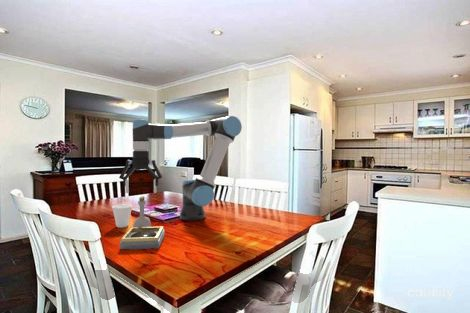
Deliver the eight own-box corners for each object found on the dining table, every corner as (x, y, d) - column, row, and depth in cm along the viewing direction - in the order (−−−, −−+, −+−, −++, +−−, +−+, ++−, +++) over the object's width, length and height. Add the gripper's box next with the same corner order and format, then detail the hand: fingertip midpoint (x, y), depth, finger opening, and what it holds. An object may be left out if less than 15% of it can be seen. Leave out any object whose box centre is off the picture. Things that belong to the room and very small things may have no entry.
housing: (164, 235, 127) (164, 226, 127) (158, 248, 111) (158, 237, 111) (130, 236, 125) (130, 227, 125) (119, 249, 110) (119, 239, 109)
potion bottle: (154, 230, 135) (154, 195, 134) (143, 235, 126) (143, 199, 125) (141, 228, 138) (140, 194, 137) (129, 233, 129) (128, 197, 128)
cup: (125, 229, 136) (124, 208, 135) (108, 228, 138) (107, 207, 137) (135, 223, 145) (135, 204, 145) (120, 222, 147) (119, 203, 147)
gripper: (167, 150, 135) (167, 190, 136) (117, 150, 132) (117, 191, 133) (165, 150, 127) (165, 193, 128) (112, 150, 125) (112, 194, 126)
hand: (141, 192), depth 131 cm, fingers open, 13 cm apart
